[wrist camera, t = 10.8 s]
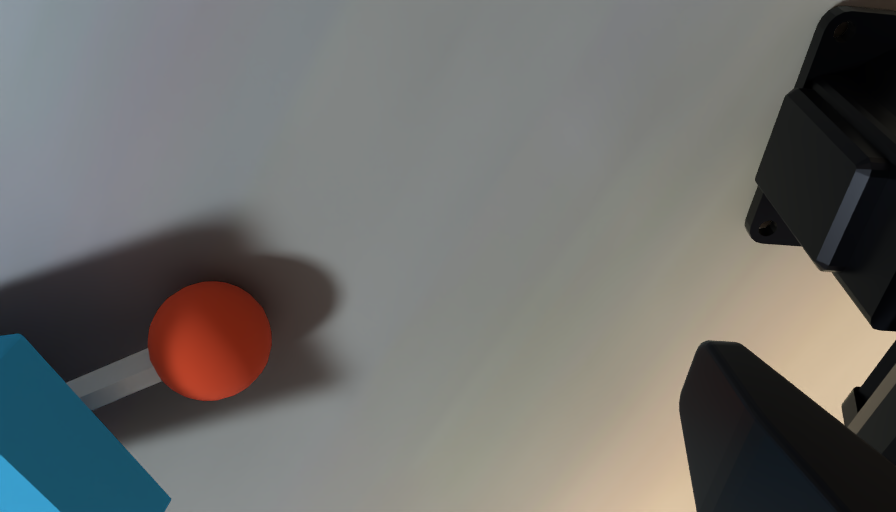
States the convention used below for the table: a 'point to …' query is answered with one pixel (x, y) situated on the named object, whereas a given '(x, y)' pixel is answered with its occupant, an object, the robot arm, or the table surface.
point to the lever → (70, 404)
